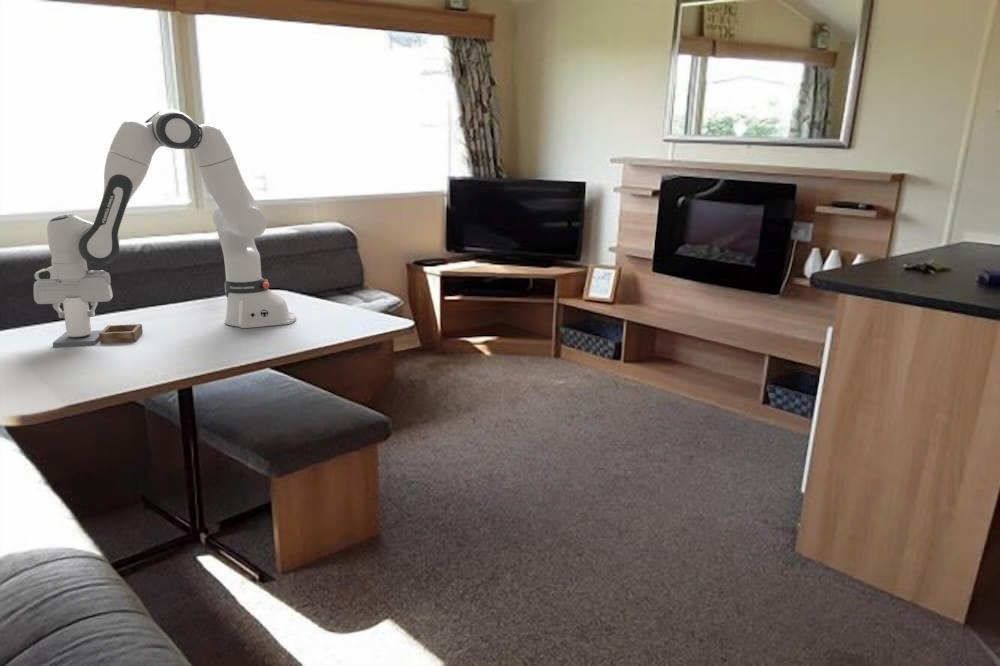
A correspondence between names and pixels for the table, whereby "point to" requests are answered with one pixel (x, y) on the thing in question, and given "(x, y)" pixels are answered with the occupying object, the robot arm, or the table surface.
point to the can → (76, 317)
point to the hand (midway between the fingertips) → (77, 317)
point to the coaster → (77, 340)
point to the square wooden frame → (121, 333)
